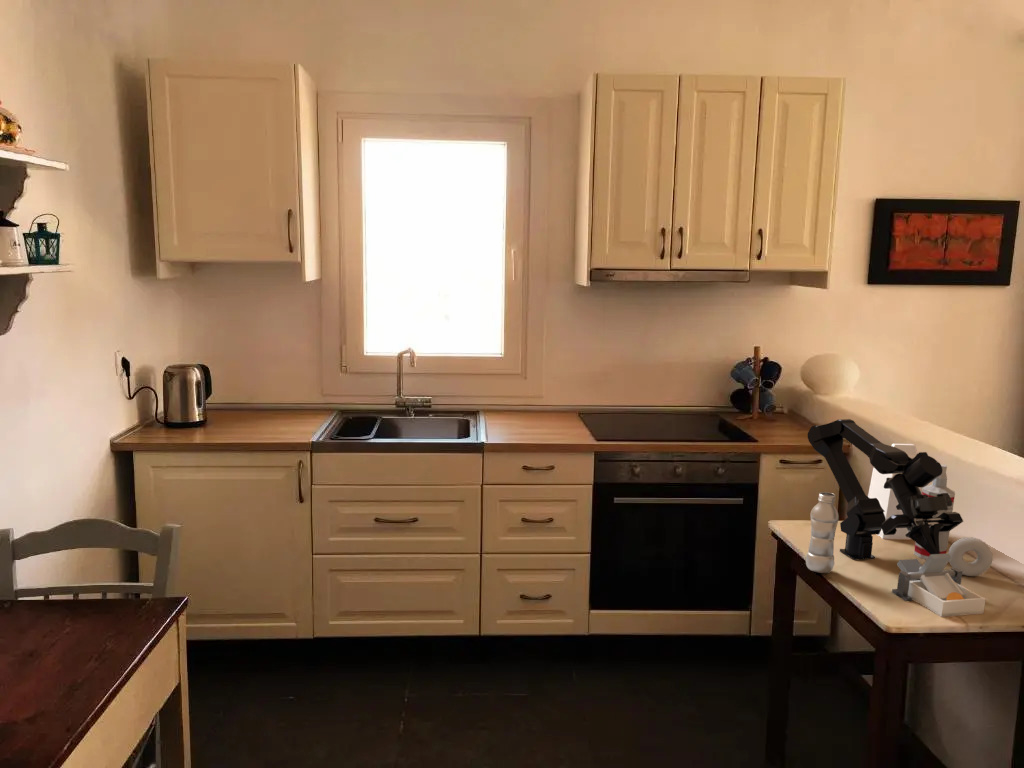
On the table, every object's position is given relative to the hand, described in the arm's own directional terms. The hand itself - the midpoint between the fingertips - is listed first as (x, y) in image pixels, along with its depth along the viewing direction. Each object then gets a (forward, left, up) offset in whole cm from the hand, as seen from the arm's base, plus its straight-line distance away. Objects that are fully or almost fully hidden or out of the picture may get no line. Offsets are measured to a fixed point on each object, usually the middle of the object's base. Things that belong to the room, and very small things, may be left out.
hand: (937, 556), depth 187 cm
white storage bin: (+4, 0, -10) cm, 11 cm away
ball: (+7, 0, -8) cm, 10 cm away
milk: (-40, +21, -10) cm, 47 cm away
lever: (-3, 0, -9) cm, 10 cm away
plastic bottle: (-18, -18, -10) cm, 27 cm away
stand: (-1, 0, -10) cm, 10 cm away
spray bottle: (-23, +19, -10) cm, 31 cm away
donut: (-10, +19, -10) cm, 24 cm away
